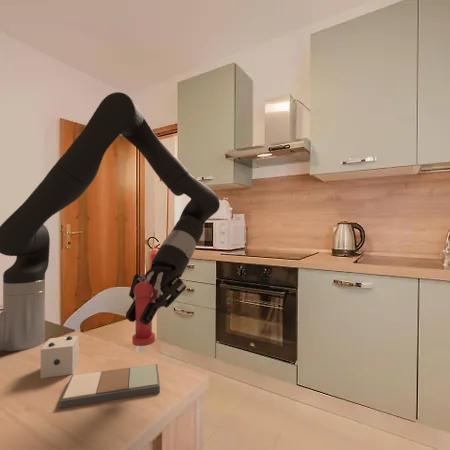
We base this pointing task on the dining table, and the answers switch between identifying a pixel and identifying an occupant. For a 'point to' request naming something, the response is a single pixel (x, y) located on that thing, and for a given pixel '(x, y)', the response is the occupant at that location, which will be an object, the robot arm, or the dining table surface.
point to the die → (59, 356)
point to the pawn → (142, 299)
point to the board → (110, 385)
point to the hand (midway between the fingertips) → (136, 321)
